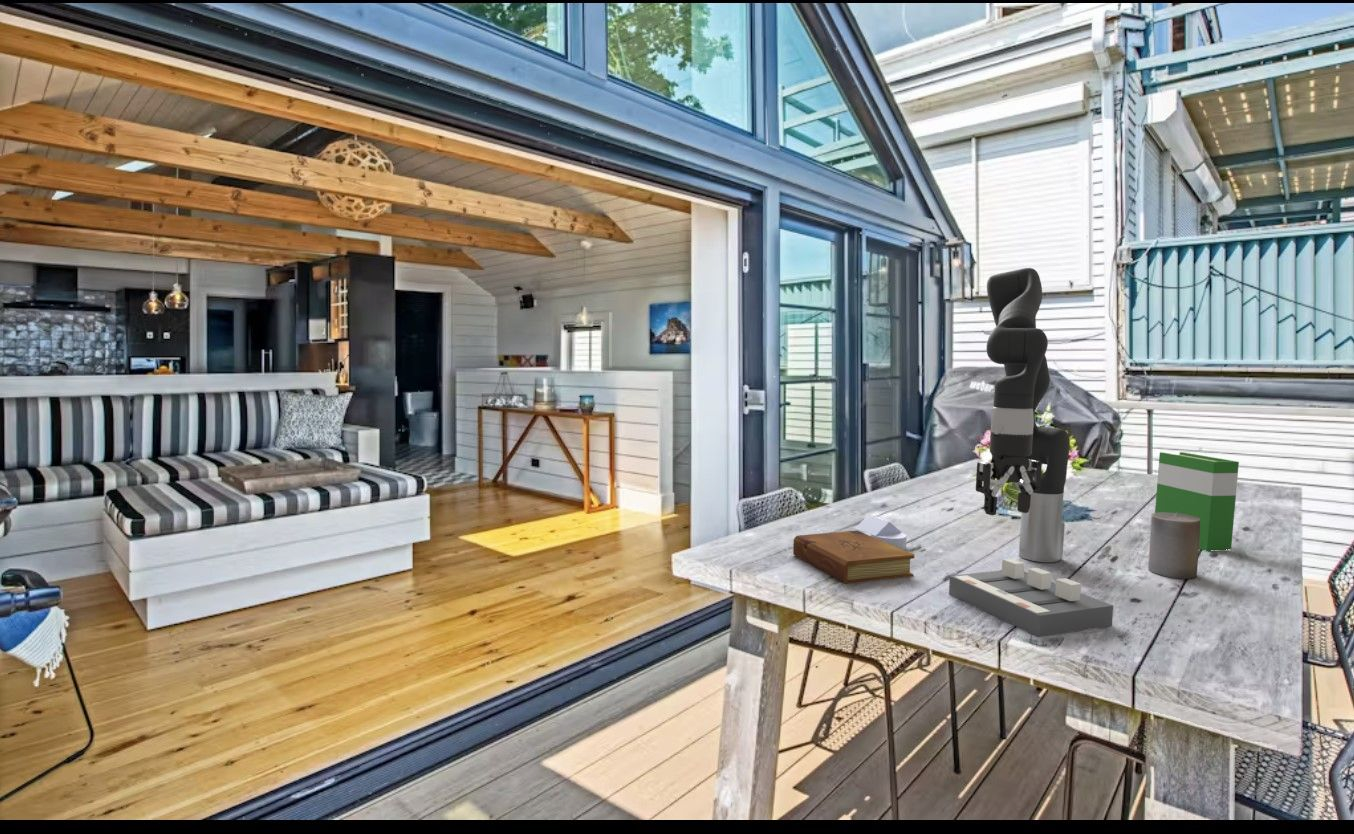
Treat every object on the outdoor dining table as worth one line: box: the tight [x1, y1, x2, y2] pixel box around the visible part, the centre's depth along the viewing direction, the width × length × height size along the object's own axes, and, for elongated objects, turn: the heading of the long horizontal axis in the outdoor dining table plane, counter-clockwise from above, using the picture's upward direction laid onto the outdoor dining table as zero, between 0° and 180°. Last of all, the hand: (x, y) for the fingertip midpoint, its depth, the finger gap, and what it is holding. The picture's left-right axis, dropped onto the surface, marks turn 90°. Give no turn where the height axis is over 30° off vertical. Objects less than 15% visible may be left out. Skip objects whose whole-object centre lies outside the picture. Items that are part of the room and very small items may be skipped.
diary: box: [792, 529, 916, 585], centre depth 173 cm, size 23×19×6 cm
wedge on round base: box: [854, 514, 907, 551], centre depth 193 cm, size 9×7×13 cm
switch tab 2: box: [1027, 567, 1052, 590], centre depth 146 cm, size 2×4×3 cm, turn 19°
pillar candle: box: [1147, 511, 1200, 580], centre depth 171 cm, size 10×10×15 cm
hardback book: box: [1154, 451, 1240, 552], centre depth 199 cm, size 18×7×24 cm, turn 9°
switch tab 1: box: [1001, 557, 1025, 579], centre depth 153 cm, size 2×4×3 cm, turn 19°
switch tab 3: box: [1055, 577, 1082, 601], centre depth 139 cm, size 2×4×3 cm, turn 19°
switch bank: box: [948, 569, 1114, 638], centre depth 145 cm, size 18×24×4 cm
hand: (1006, 513), depth 142 cm, fingers open, 7 cm apart
